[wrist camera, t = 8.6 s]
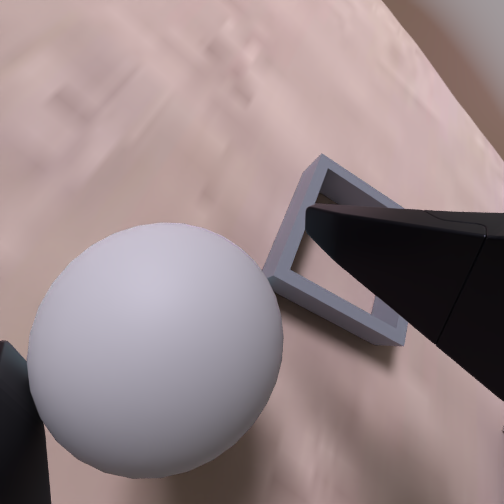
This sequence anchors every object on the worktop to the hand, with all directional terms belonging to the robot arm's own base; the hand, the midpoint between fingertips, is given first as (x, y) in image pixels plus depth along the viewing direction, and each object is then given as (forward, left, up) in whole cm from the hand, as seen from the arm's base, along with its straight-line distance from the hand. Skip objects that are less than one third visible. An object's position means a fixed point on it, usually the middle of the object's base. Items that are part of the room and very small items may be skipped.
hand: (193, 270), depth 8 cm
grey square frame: (+8, -9, -8) cm, 15 cm away
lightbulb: (-2, 0, -8) cm, 8 cm away
